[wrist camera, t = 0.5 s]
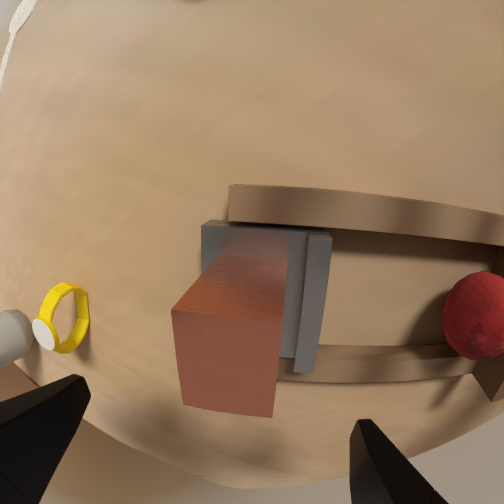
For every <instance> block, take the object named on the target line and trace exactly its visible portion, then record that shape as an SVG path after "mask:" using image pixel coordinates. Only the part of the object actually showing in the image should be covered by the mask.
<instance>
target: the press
mask: <svg viewBox="0 0 504 504" xmlns="http://www.w3.org/2000/svg"><path fill="white" fill-rule="evenodd" d="M332 242H333V240H332V238H331V236H330V235H329V233H328V231H327V229H326V228H325V227H317V226H304V225H289V224H274V223H258V222H240V221H223V220H210V221H208V222H206V223H205V224H203V225H201V254H202V274H201V275H200V277H199V278H198V279H197V280H196V281H195V282H194V284H193V285H192V286H191V287H190V288H189V289H188V290H187V292H186V293H185V294H184V295H183V296H182V298H181V299H180V300H179V301H178V302H177V303H176V305H175V306H174V307H173V308H172V309H171V314H172V324H173V333H174V342H175V350H176V358H177V366H178V373H179V380H180V386H181V393H182V399H183V405H188V406H193V407H198V408H203V409H208V410H214V411H220V412H227V413H233V414H241V415H249V416H257V417H267V418H272V415H273V407H274V399H275V391H276V382H277V374H278V365H279V357H284V358H294V370H293V372H298V373H313V369H314V364H315V359H316V353H317V348H318V342H319V336H320V331H321V324H322V318H323V312H324V305H325V298H326V291H327V284H328V276H329V268H330V260H331V251H332Z"/></svg>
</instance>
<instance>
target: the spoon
mask: <svg viewBox="0 0 504 504" xmlns="http://www.w3.org/2000/svg"><path fill="white" fill-rule="evenodd" d="M36 3H37V0H23V1H22V2H21V3H20V5H19V7H18V8H17V10H16V11H15V14H14V15H13V18H12V20H11V23H10V26H9V33H10V35H11V36H10V40H9V42H8V45H7V47H6V50H5V54H4V57H2V61H1V66H0V93H1V88H2V84H3V80H4V75H5V71H6V67H7V63H8V60H9V56H10V53H11V49H12V46H13V43H14V40H15V37H16V34H17V33H18V31H19V30H20V28H21V27H22V26H23V25H24V23H25V22H26V21H27V19H28V18H29V16H30V15H31V13H32V11H33V9H34V7H35V5H36Z"/></svg>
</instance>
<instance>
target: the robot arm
mask: <svg viewBox="0 0 504 504" xmlns="http://www.w3.org/2000/svg"><path fill="white" fill-rule="evenodd" d="M90 398H91V393H90V391H89V388H88V385H87V383H86V380H85V378H84V377H82V376H80V375H77V374H72V375H70V376H67V377H65V378H62V379H60V380H57V381H55V382H52V383H50V384H47V385H45V386H42V387H39V388H37V389H34V390H32V391H29V392H26V393H24V394H21V395H18V396H16V397H13V398H10V399H8V400H5V401H2V402H0V504H39V502H40V500H41V498H42V496H43V494H44V492H45V490H46V488H47V486H48V484H49V482H50V480H51V478H52V476H53V474H54V472H55V470H56V468H57V466H58V464H59V462H60V461H61V459H62V457H63V455H64V453H65V451H66V449H67V447H68V446H69V444H70V442H71V440H72V438H73V436H74V434H75V433H76V431H77V429H78V426H79V424H80V422H81V419H82V417H83V415H84V412H85V410H86V408H87V405H88V403H89V401H90ZM350 491H351V501H352V504H449V503H448V502H446V501H445V500H444V499H443V498H442V497H441V495H439V493H438V492H437V491H436V490H434V488H433V487H432V486H431V485H430V484H429V483H428V482H427V481H426V479H425V478H424V477H423V476H422V475H421V474H420V473H419V472H418V471H417V470H416V469H415V468H414V467H413V465H412V464H411V463H410V462H409V461H408V460H407V459H406V458H405V456H404V455H403V454H402V453H401V452H400V451H399V450H398V449H397V448H396V446H395V445H394V444H393V443H392V442H391V441H390V440H389V439H388V438H387V436H386V435H385V434H384V433H383V432H382V431H381V430H380V429H379V427H378V426H377V425H376V424H375V423H374V422H373V421H372V420H371V419H359V420H357V422H356V424H355V426H354V429H353V431H352V433H351V436H350Z"/></svg>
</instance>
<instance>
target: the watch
mask: <svg viewBox="0 0 504 504" xmlns="http://www.w3.org/2000/svg"><path fill="white" fill-rule="evenodd" d="M70 291H74V292H75V295H76V305H77V314H78V317H77V320H76V323H75V326H74V329H73V331H72V332H71V334H70V335H69V337H68V339H66V340H65V341H63V342H62V343H61V344H59V336H58V333H57V330H56V328H55V327H54V325H53V324H52V319H53V314H54V311H55V309H56V307H57V305H58V304H59V302H60V300H61V298H62V297H64V296H65V295H66V294H68V293H69V292H70ZM87 297H88V295H87V293H86V292H85V291H84V290H83V289H82V288H81V287H79V286H77V285H74V284H72V283H60V284H58V285H57V286H55V287H54V288H52V289H51V290H50V291H49V293H48V294H47V296H46V298H45V299H44V301H43V303H42V305H41V309H40V313H39V316H38V317H37V318H35V319H34V320H33V322H32V329H33V333H34V335H35V337H36V339H37V341H38V342H39V343H40V344H41V346H42V347H44V348H45V349H47V350H54V351H56V352H58V353H60V354H64V353H69V352H71V351H73V350H74V349H75V348H76V347H78V345H79V344H80V343H81V341H82V339H83V338H84V336H85V334H86V332H87V328H88V325H89V322H90V321H89V312H88V300H87Z"/></svg>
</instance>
